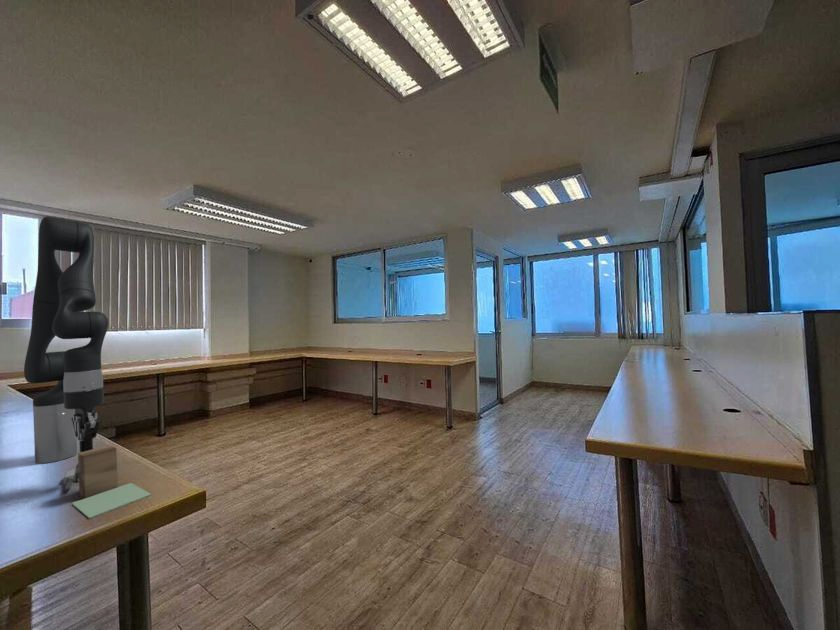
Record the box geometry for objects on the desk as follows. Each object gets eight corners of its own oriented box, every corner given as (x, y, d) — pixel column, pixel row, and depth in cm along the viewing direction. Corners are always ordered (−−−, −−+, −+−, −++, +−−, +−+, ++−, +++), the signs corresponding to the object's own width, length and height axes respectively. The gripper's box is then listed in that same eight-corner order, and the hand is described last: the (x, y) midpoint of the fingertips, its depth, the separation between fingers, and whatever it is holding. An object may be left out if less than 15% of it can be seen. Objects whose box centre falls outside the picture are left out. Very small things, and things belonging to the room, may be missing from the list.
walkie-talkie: (68, 471, 100) (60, 497, 85) (67, 456, 100) (60, 479, 85) (109, 462, 106) (109, 484, 91) (108, 447, 106) (108, 467, 91)
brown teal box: (79, 493, 85) (77, 452, 85) (110, 483, 90) (109, 444, 90) (85, 498, 83) (84, 456, 83) (117, 487, 88) (116, 447, 88)
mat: (72, 504, 80) (72, 503, 80) (131, 483, 90) (131, 482, 90) (89, 518, 74) (89, 517, 74) (151, 495, 83) (151, 494, 83)
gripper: (56, 388, 92) (59, 454, 92) (72, 392, 85) (74, 464, 85) (94, 383, 98) (96, 445, 98) (111, 386, 91) (114, 453, 91)
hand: (86, 454), depth 91 cm, fingers closed
